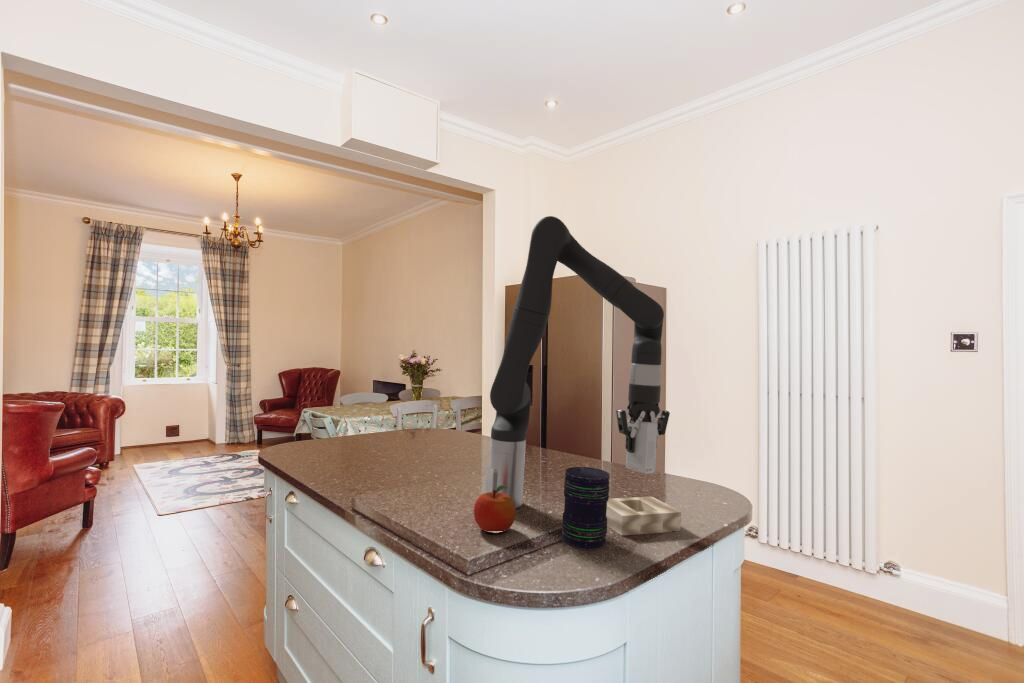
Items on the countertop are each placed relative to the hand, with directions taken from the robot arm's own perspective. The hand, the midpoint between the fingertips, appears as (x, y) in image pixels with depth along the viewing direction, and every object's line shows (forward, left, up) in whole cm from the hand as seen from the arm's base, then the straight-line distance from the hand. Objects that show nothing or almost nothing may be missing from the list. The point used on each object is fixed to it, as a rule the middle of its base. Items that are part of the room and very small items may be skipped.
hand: (640, 451), depth 123 cm
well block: (0, 0, -18) cm, 18 cm away
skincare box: (0, 0, -5) cm, 5 cm away
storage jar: (-18, -7, -18) cm, 26 cm away
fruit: (-36, +2, -18) cm, 40 cm away
